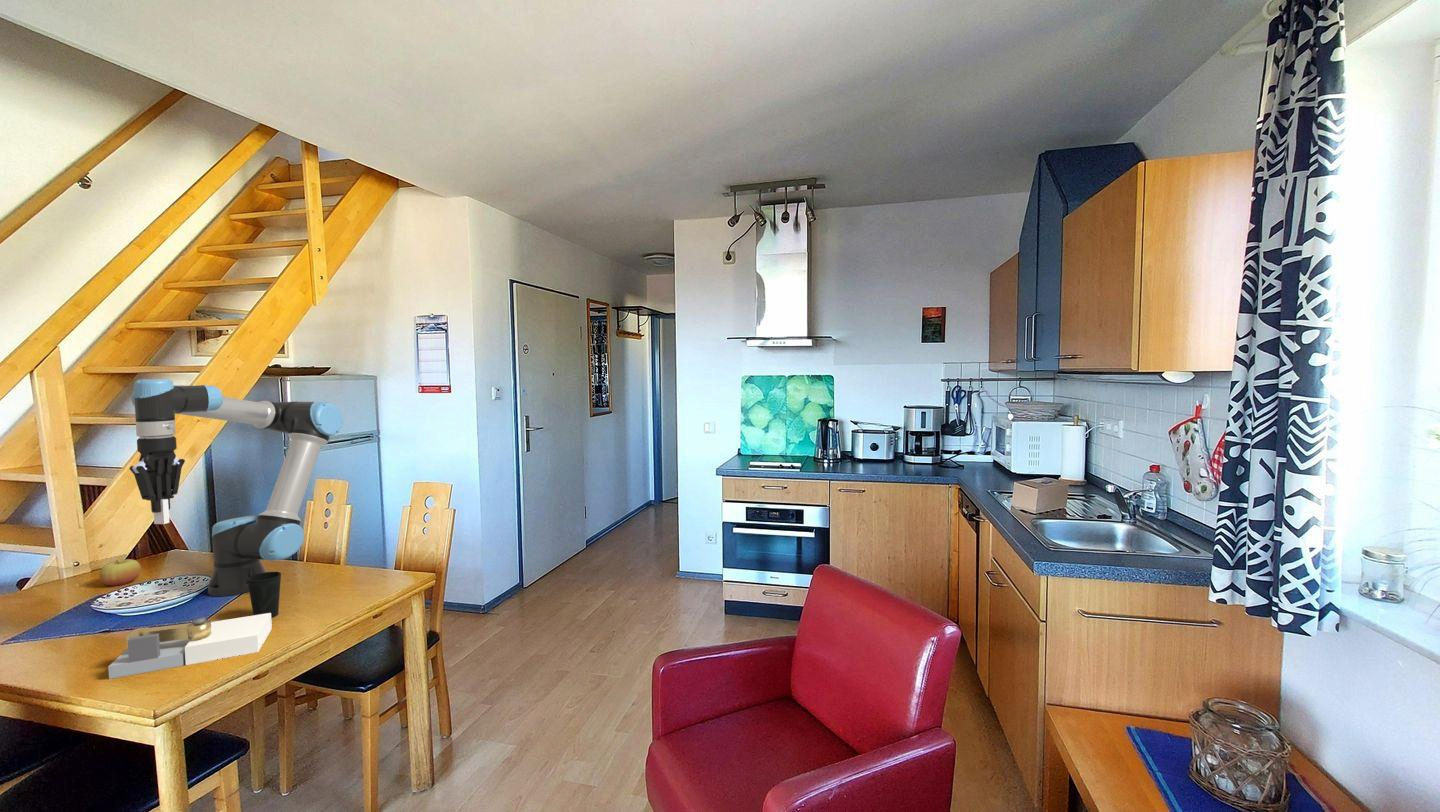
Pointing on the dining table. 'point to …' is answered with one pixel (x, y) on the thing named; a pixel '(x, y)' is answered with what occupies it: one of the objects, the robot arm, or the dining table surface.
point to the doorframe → (193, 646)
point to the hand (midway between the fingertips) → (161, 523)
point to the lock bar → (174, 632)
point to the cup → (265, 593)
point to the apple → (120, 572)
